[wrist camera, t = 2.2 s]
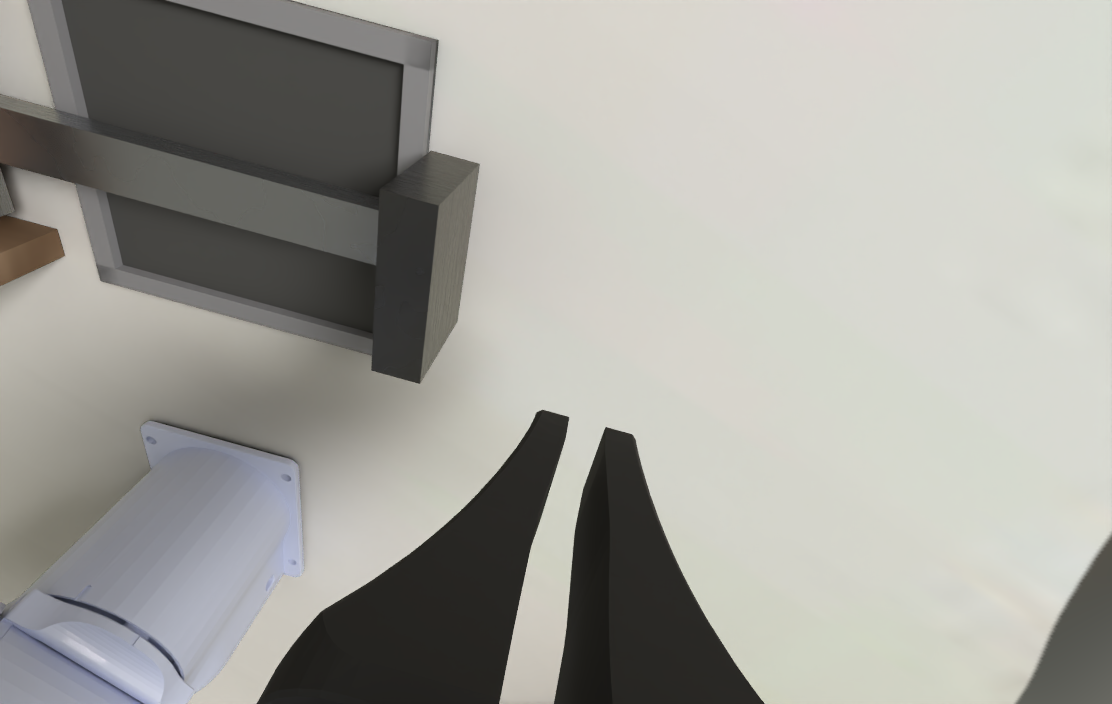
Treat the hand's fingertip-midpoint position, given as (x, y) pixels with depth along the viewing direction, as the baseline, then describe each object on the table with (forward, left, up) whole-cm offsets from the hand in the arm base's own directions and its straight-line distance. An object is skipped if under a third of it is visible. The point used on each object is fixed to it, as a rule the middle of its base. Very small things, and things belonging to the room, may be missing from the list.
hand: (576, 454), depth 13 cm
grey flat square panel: (0, +14, -9) cm, 16 cm away
